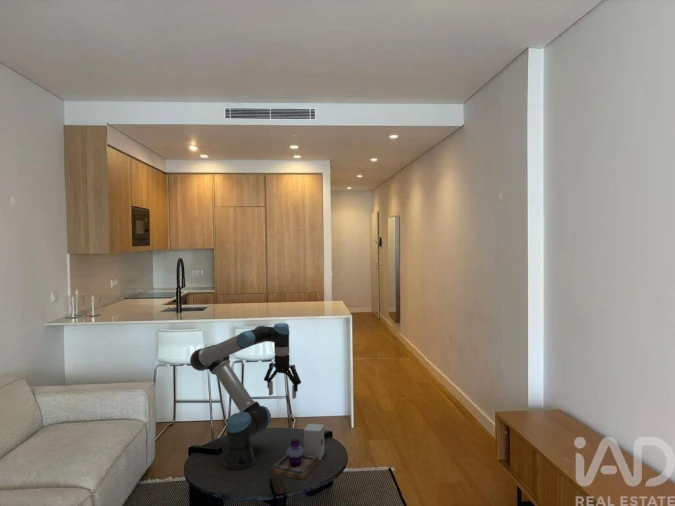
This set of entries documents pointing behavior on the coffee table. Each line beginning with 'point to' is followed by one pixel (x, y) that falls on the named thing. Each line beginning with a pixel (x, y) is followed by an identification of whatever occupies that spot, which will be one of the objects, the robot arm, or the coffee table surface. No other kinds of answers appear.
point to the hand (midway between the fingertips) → (282, 396)
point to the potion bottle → (295, 453)
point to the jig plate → (292, 471)
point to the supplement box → (314, 440)
